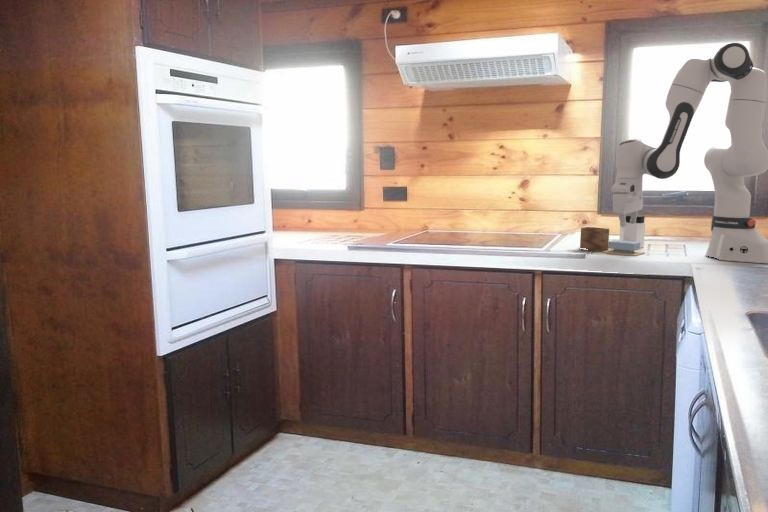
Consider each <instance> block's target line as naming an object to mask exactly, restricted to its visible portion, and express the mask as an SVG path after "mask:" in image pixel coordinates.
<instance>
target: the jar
mask: <svg viewBox="0 0 768 512" xmlns="http://www.w3.org/2000/svg"><path fill="white" fill-rule="evenodd" d="M625 218H626V221H627V226H625V227H621V226H620V225H619V226H620V228H619V240H620V241H631V242H640V249H642V248H644V247H645V246H644V245H645V234H646V233H645V229H646V222H645V215H643V214H638V215H637V218H636V223H635V224H630V219H631V213H628V214H626V217H625Z"/></svg>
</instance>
